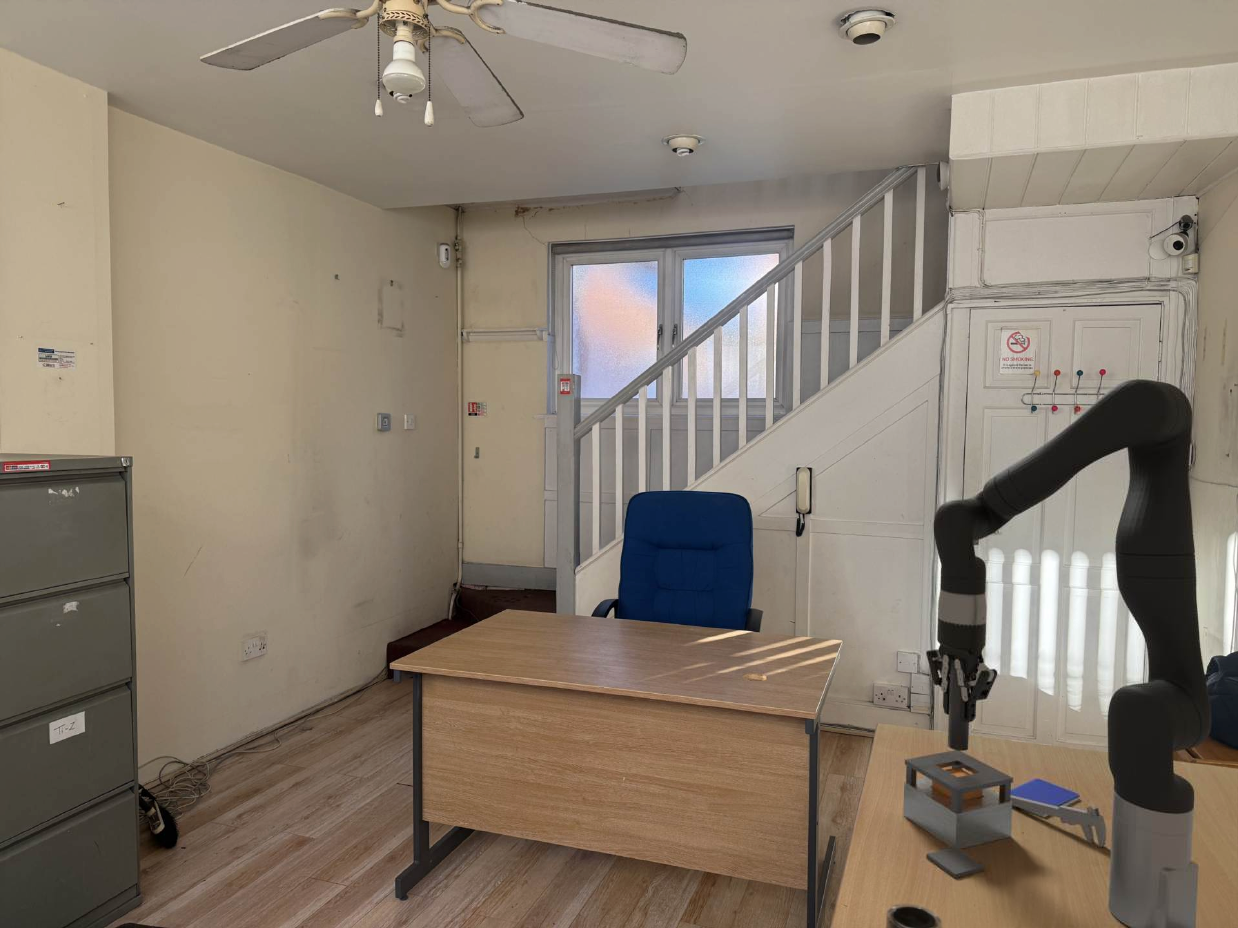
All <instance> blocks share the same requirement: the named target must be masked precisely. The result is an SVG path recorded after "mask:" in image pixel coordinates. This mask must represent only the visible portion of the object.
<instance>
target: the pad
mask: <svg viewBox="0 0 1238 928" xmlns="http://www.w3.org/2000/svg"><path fill="white" fill-rule="evenodd" d="M925 856H926V859H927V860H929V861H931V863H933V864H935V865H936V866H938V867H939V868H940V869H941V870H943V871H945V872H946V873H947V874H949V875H950V876H952V878H954V879H957V878H961V877H965V876H969V875H971V874H976V873H979V872H984V871H986V866H985V865H984V864H982V863H981V862H979V861H978V860H976V859H975V858H973V857H972V856H970V855H969V854H967V853H966V852H964V851H963V850H962V849H958V848H957V847H952V848H951V847H948V848H945V849H940V850H937V851H933V852H929V853H926V854H925Z"/></svg>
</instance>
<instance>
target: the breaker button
mask: <svg viewBox="0 0 1238 928" xmlns="http://www.w3.org/2000/svg"><path fill="white" fill-rule="evenodd" d="M945 770H946V771H947V772H949V773H951V774H953V775H955V776H956V777H961V776H966V775H971V773H968V772H967V771H965V770H964V769H963V768H962V769H960V768H958V767H957V768H952V767H951V768H947V769H945ZM932 788H933V789H934V790H936V791H938V792H939V793H941V794H943V795H944V796H946V797H948V798H950V799H951V795H952V791H950V790H948V789H947V788H945V787H943V786H941V785H940V784H938V783H936V782H935V781H933V780H932ZM982 792H983V789H981V790H977V791H972V792H968V793H963V801H967V800H972V799H976V798H981V797H982Z"/></svg>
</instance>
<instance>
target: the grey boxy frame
mask: <svg viewBox="0 0 1238 928" xmlns="http://www.w3.org/2000/svg"><path fill="white" fill-rule="evenodd" d="M904 765H905V766H906V772H905V781H904V782H903V784H904V785H903V813H902V815H903V816H904V817H905V818H906V819H908V820H910V821H911V822H912V823H914V824H916V826H919V827H920V828H921V829H923V830H925V831H926V832H928V833H929V834H931V836H934V837H935V838H936V839H938V841H939V840H940V841H941V842H943V843H944V844H946V845H947V846H948V847H949V848H952V847H957V848H958V849H960V850H962V849H965V848H970V847H975V846H977V845H982V844H985V843H989V842H993V841H997V840H1001V839H1006V838H1009V837H1010V838H1011V837H1012V815H1013V813H1012V812H1013V806H1012V801H1011V800H1010V797H1011V789H1012V784H1013V783H1014V777H1012V776H1010V775H1008V774H1007V773H1004V772H1002V771H1000V770H998V769H996V768H994V767H993V766H991V765H989V764H987V763H985V762H982V761H981V760H979V759H977V758H975V757H973V756H971V755H969V754H967V753H965V752H964V751H959V750H954V749H953V750H949V751H944V752H938V753H933V754H927V755H923V756H918V757H912V758H911V757H910V758H906V759H904ZM949 767H951V769H952V768H957V767H958V768H960V769H962V770H964V769H965V770H966V771H968V772H970V774H971V773H972V774H971V775H966V776H961V777H956V776H955V775H953V774H951V773H949V772H947V771H946V770H947V769H944V768H949ZM917 773H919V774H921V775H923V776H924V777H923V778H917V775H918V774H917ZM932 780H933V781H935V782H936V783H938V784H940V785H941V786H943V787H945V788H947V789H948V790H950V791H952V795H951V799H950V798H948V797H946V796H944V795H943V794H941V793H939V792H938V791H936V790H934V789H933V788H932ZM994 787H999V789H998V790H999V791H998V792H999V794H998V793H996V792H997V791H994V790H992V789H990V788H994ZM981 789H983V792H982V797H981V798H976V799H972V800H967V801H963V793H968V792H972V791H977V790H981Z"/></svg>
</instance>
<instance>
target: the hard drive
mask: <svg viewBox="0 0 1238 928" xmlns="http://www.w3.org/2000/svg"><path fill="white" fill-rule="evenodd" d="M1011 795H1012V796H1016V797H1020V798H1024V799H1028V800H1032V801H1036V802H1040V803H1045V804H1049V805H1053V806H1057V807H1060V806H1062V805H1063V806H1067V807H1069V805H1072V804H1073V803H1075V802H1077V801H1079V800H1080V798H1081V796H1080V794H1079V793H1077V792H1075V791H1072V790H1069V789H1066V788H1064V787H1062V786H1059V785H1057V784H1054V783H1051V782H1049V781H1046V780H1044V779H1041V778H1033V779H1031V780H1030V781H1028V782H1025V783H1023V784H1021V785H1018V786H1016V787H1014V788H1011ZM1021 809H1022V810H1025V811H1027V812H1030V813H1032V814H1034V815H1036V816H1039V817H1041V818H1044V819H1045V818H1046V817H1048V816H1049V815H1047V814H1043V813H1040V812H1036V811H1032V810H1028V809H1024V808H1021Z"/></svg>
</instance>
